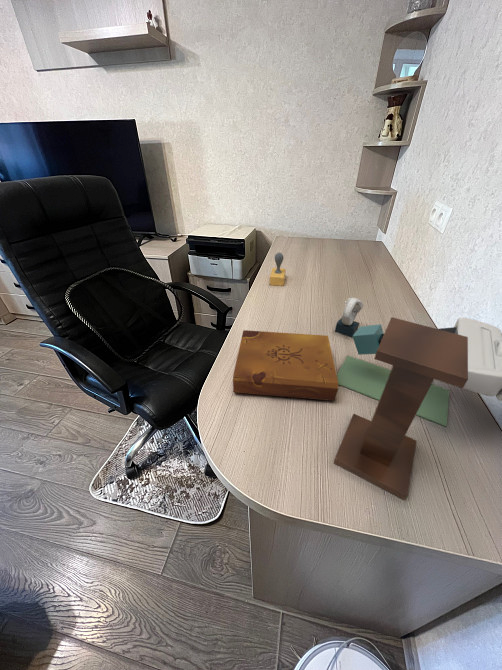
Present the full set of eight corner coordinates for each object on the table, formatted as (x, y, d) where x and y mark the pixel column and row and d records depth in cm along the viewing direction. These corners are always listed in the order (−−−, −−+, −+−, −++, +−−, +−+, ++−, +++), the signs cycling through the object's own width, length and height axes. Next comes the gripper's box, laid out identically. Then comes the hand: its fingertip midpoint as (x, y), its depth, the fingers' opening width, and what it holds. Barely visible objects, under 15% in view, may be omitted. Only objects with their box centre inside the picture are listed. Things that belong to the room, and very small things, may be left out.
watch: (359, 328, 87) (367, 297, 81) (350, 340, 82) (358, 308, 76) (342, 322, 90) (349, 292, 84) (332, 334, 85) (338, 302, 78)
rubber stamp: (283, 286, 113) (285, 257, 106) (269, 285, 114) (270, 256, 107) (285, 276, 121) (287, 249, 114) (271, 275, 122) (273, 248, 115)
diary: (233, 395, 64) (232, 377, 61) (243, 346, 80) (243, 330, 76) (334, 403, 62) (339, 384, 59) (324, 351, 78) (328, 335, 74)
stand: (414, 445, 54) (476, 335, 39) (404, 500, 45) (479, 388, 31) (352, 417, 59) (385, 312, 44) (333, 463, 51) (367, 351, 36)
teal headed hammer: (457, 350, 52) (451, 326, 50) (358, 354, 65) (352, 336, 64) (460, 338, 55) (455, 315, 54) (365, 344, 69) (359, 326, 67)
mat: (448, 391, 65) (449, 389, 65) (446, 427, 57) (446, 426, 57) (347, 356, 76) (347, 355, 76) (332, 382, 68) (332, 381, 67)
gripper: (515, 321, 55) (437, 303, 62) (532, 383, 41) (428, 352, 47) (499, 346, 59) (426, 327, 65) (509, 411, 45) (415, 378, 51)
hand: (427, 338), depth 56 cm, fingers closed on teal headed hammer, 3 cm apart
